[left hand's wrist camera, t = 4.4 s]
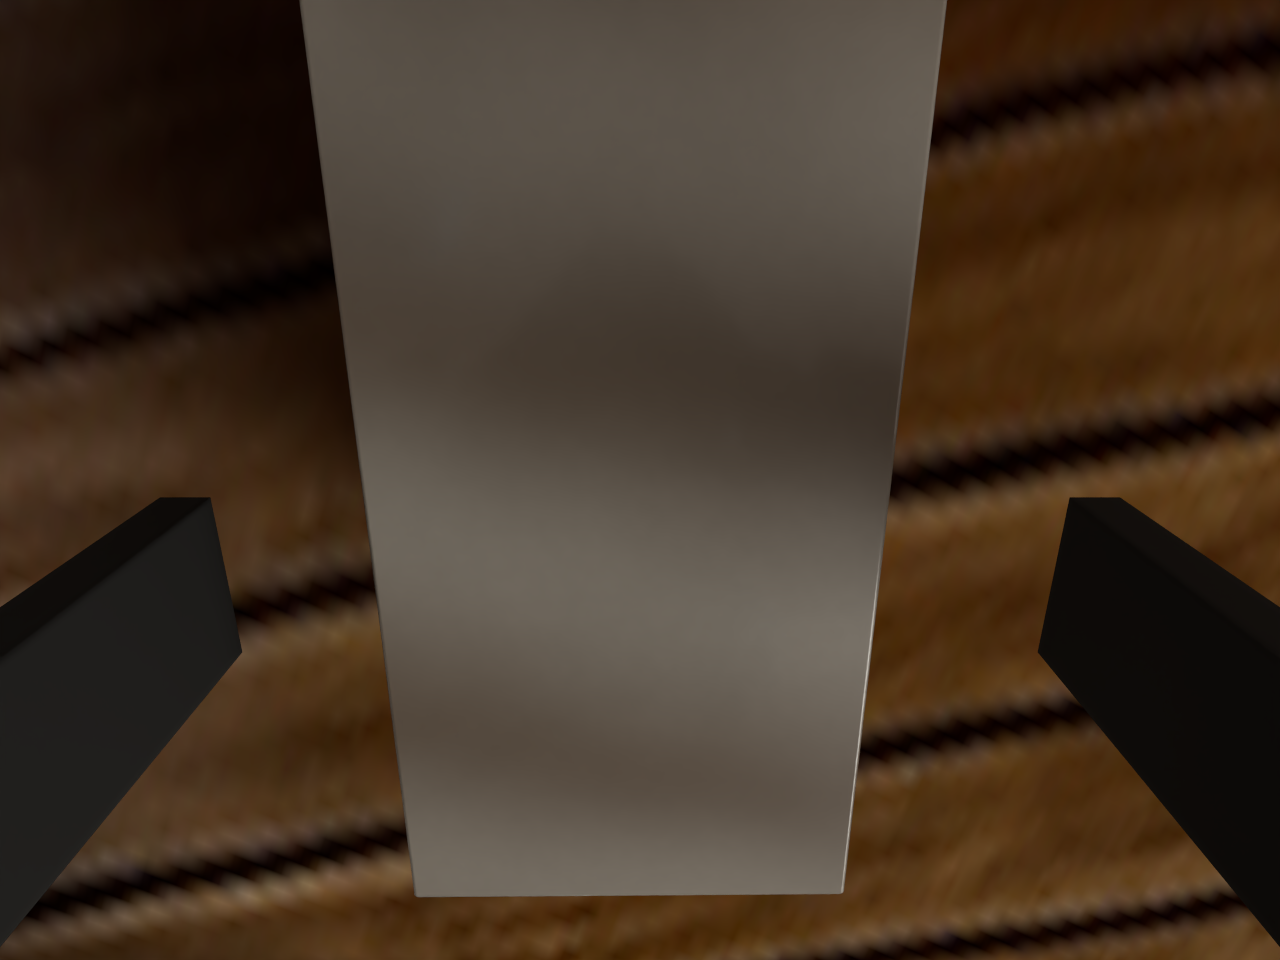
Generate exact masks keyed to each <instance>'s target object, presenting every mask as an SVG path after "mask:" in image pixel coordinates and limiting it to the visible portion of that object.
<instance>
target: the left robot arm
mask: <svg viewBox="0 0 1280 960" xmlns="http://www.w3.org/2000/svg"><path fill="white" fill-rule="evenodd" d="M241 653H242V649H241V644H240V639H239V634H238V629H237V624H236V620H235V615H234V610H233V605H232V600H231V595H230V591H229V586H228V581H227V576H226V571H225V566H224V562H223V557H222V552H221V547H220V542H219V537H218V533H217V528H216V523H215V518H214V513H213V508H212V504H211V499H210V498H159V499H157V500H156V501H154V502H153V503H151V504H150V505H148V506H147V507H146V508H144V509H143V510H141V511H140V512H138V513H137V514H135V515H134V516H132V517H131V518H130V519H128V520H127V521H125V522H124V523H122V524H121V525H119V526H118V527H116V528H115V529H114V530H112V531H111V532H109V533H108V534H106V535H105V536H103V537H102V538H100V539H99V540H98V541H96V542H95V543H93V544H92V545H90V546H89V547H87V548H86V549H84V550H83V551H82V552H80V553H79V554H77V555H76V556H74V557H73V558H71V559H70V560H68V561H67V562H66V563H64V564H63V565H61V566H60V567H58V568H57V569H55V570H54V571H52V572H51V573H50V574H48V575H47V576H45V577H44V578H42V579H41V580H39V581H38V582H36V583H35V584H33V585H32V586H31V587H29V588H28V589H26V590H25V591H23V592H22V593H20V594H19V595H17V596H16V597H15V598H13V599H12V600H10V601H9V602H7V603H6V604H4V605H3V606H1V607H0V946H1V945H2V944H3V943H4V942H5V940H6V939H7V938H8V937H9V936H10V934H11V933H12V932H13V931H14V929H15V928H16V927H17V926H18V925H19V923H20V922H21V921H22V920H23V918H24V917H25V916H26V915H27V914H28V912H29V911H30V910H31V909H32V907H33V906H34V905H35V904H36V903H37V901H38V900H39V899H40V898H41V897H42V895H43V894H44V893H45V892H46V890H47V889H48V888H49V887H50V886H51V884H52V883H53V882H54V881H55V879H56V878H57V877H58V876H59V875H60V873H61V872H62V871H63V870H64V869H65V867H66V866H67V865H68V864H69V862H70V861H71V860H72V859H73V858H74V856H75V855H76V854H77V853H78V851H79V850H80V849H81V848H82V847H83V845H84V844H85V843H86V842H87V841H88V839H89V838H90V837H91V836H92V834H93V833H94V832H95V831H96V830H97V828H98V827H99V826H100V825H101V823H102V822H103V821H104V820H105V819H106V817H107V816H108V815H109V814H110V813H111V811H112V810H113V809H114V808H115V806H116V805H117V804H118V803H119V802H120V800H121V799H122V798H123V797H124V795H125V794H126V793H127V792H128V791H129V789H130V788H131V787H132V786H133V785H134V783H135V782H136V781H137V780H138V778H139V777H140V776H141V775H142V774H143V772H144V771H145V770H146V769H147V767H148V766H149V765H150V764H151V763H152V761H153V760H154V759H155V758H156V757H157V755H158V754H159V753H160V752H161V750H162V749H163V748H164V747H165V746H166V744H167V743H168V742H169V741H170V739H171V738H172V737H173V736H174V735H175V733H176V732H177V731H178V730H179V729H180V727H181V726H182V725H183V724H184V722H185V721H186V720H187V719H188V718H189V716H190V715H191V714H192V713H193V711H194V710H195V709H196V708H197V707H198V705H199V704H200V703H201V702H202V700H203V699H204V698H205V697H206V696H207V694H208V693H209V692H210V691H211V690H212V688H213V687H214V686H215V685H216V683H217V682H218V681H219V680H220V679H221V677H222V676H223V675H224V674H225V672H226V671H227V670H228V669H229V668H230V666H231V665H232V664H233V663H234V662H235V660H236V659H237V658H238V657H239V655H240V654H241ZM1038 653H1039V654H1040V655H1041V657H1042V658H1043V659H1044V660H1045V662H1046V663H1047V664H1048V665H1049V666H1050V668H1051V669H1052V670H1053V671H1054V672H1055V674H1056V675H1057V676H1058V677H1059V679H1060V680H1061V681H1062V682H1063V683H1064V685H1065V686H1066V687H1067V688H1068V690H1069V691H1070V692H1071V693H1072V694H1073V696H1074V697H1075V698H1076V699H1077V700H1078V702H1079V703H1080V704H1081V705H1082V707H1083V708H1084V709H1085V710H1086V711H1087V713H1088V714H1089V715H1090V716H1091V718H1092V719H1093V720H1094V721H1095V722H1096V724H1097V725H1098V726H1099V727H1100V728H1101V730H1102V731H1103V732H1104V733H1105V735H1106V736H1107V737H1108V738H1109V739H1110V741H1111V742H1112V743H1113V744H1114V746H1115V747H1116V748H1117V749H1118V750H1119V752H1120V753H1121V754H1122V755H1123V757H1124V758H1125V759H1126V760H1127V761H1128V763H1129V764H1130V765H1131V766H1132V767H1133V769H1134V770H1135V771H1136V772H1137V774H1138V775H1139V776H1140V777H1141V778H1142V780H1143V781H1144V782H1145V783H1146V785H1147V786H1148V787H1149V788H1150V789H1151V791H1152V792H1153V793H1154V794H1155V795H1156V797H1157V798H1158V799H1159V800H1160V802H1161V803H1162V804H1163V805H1164V806H1165V808H1166V809H1167V810H1168V811H1169V813H1170V814H1171V815H1172V816H1173V817H1174V819H1175V820H1176V821H1177V822H1178V823H1179V825H1180V826H1181V827H1182V828H1183V830H1184V831H1185V832H1186V833H1187V834H1188V836H1189V837H1190V838H1191V839H1192V841H1193V842H1194V843H1195V844H1196V845H1197V847H1198V848H1199V849H1200V850H1201V851H1202V853H1203V854H1204V855H1205V856H1206V858H1207V859H1208V860H1209V861H1210V862H1211V864H1212V865H1213V866H1214V867H1215V869H1216V870H1217V871H1218V872H1219V873H1220V875H1221V876H1222V877H1223V878H1224V879H1225V881H1226V882H1227V883H1228V884H1229V886H1230V887H1231V888H1232V889H1233V890H1234V892H1235V893H1236V894H1237V895H1238V897H1239V898H1240V899H1241V900H1242V901H1243V903H1244V904H1245V905H1246V906H1247V907H1248V909H1249V910H1250V911H1251V912H1252V914H1253V915H1254V916H1255V917H1256V918H1257V920H1258V921H1259V922H1260V923H1261V925H1262V926H1263V927H1264V928H1265V929H1266V931H1267V932H1268V933H1269V934H1270V935H1271V937H1272V938H1273V939H1274V940H1275V942H1276V943H1277V944H1278V945H1279V946H1280V607H1279V606H1277V605H1276V604H1274V603H1273V602H1271V601H1270V600H1268V599H1267V598H1265V597H1264V596H1263V595H1261V594H1260V593H1258V592H1257V591H1255V590H1254V589H1252V588H1251V587H1249V586H1248V585H1247V584H1245V583H1244V582H1242V581H1241V580H1239V579H1238V578H1236V577H1235V576H1233V575H1232V574H1230V573H1229V572H1228V571H1226V570H1225V569H1223V568H1222V567H1220V566H1219V565H1217V564H1216V563H1214V562H1213V561H1212V560H1210V559H1209V558H1207V557H1206V556H1204V555H1203V554H1201V553H1200V552H1198V551H1197V550H1196V549H1194V548H1193V547H1191V546H1190V545H1188V544H1187V543H1185V542H1184V541H1182V540H1181V539H1180V538H1178V537H1177V536H1175V535H1174V534H1172V533H1171V532H1169V531H1168V530H1166V529H1165V528H1164V527H1162V526H1161V525H1159V524H1158V523H1156V522H1155V521H1153V520H1152V519H1150V518H1149V517H1148V516H1146V515H1145V514H1143V513H1142V512H1140V511H1139V510H1137V509H1136V508H1134V507H1133V506H1132V505H1130V504H1129V503H1127V502H1126V501H1124V500H1123V499H1121V498H1070V499H1069V504H1068V508H1067V513H1066V518H1065V523H1064V528H1063V533H1062V537H1061V542H1060V547H1059V552H1058V557H1057V562H1056V566H1055V571H1054V576H1053V581H1052V586H1051V591H1050V595H1049V600H1048V605H1047V610H1046V615H1045V620H1044V624H1043V629H1042V634H1041V639H1040V644H1039V649H1038Z"/></svg>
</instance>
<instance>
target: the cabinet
mask: <svg viewBox="0 0 1280 960" xmlns="http://www.w3.org/2000/svg"><path fill="white" fill-rule="evenodd" d="M299 1H300V9H301V17H302V25H303V32H304V40H305V48H306V56H307V63H308V71H309V79H310V87H311V94H312V102H313V110H314V118H315V126H316V133H317V141H318V149H319V157H320V164H321V172H322V180H323V188H324V195H325V203H326V211H327V219H328V226H329V234H330V242H331V250H332V257H333V265H334V273H335V281H336V288H337V296H338V304H339V312H340V320H341V327H342V335H343V343H344V351H345V358H346V366H347V374H348V382H349V389H350V397H351V405H352V413H353V420H354V428H355V436H356V444H357V451H358V459H359V467H360V475H361V482H362V490H363V498H364V506H365V514H366V521H367V529H368V537H369V545H370V552H371V560H372V568H373V576H374V583H375V591H376V599H377V607H378V614H379V622H380V630H381V638H382V645H383V653H384V661H385V669H386V677H387V684H388V692H389V700H390V708H391V715H392V723H393V731H394V739H395V746H396V754H397V762H398V770H399V777H400V785H401V793H402V801H403V808H404V816H405V824H406V832H407V839H408V847H409V855H410V863H411V871H412V878H413V886H414V893H415V896H417V897H481V896H617V895H752V894H841V893H843V890H844V883H845V874H846V865H847V857H848V848H849V839H850V831H851V822H852V814H853V805H854V796H855V788H856V779H857V771H858V762H859V753H860V745H861V736H862V727H863V719H864V710H865V702H866V693H867V684H868V676H869V667H870V659H871V650H872V641H873V633H874V624H875V615H876V607H877V598H878V590H879V581H880V572H881V564H882V555H883V546H884V538H885V529H886V521H887V512H888V503H889V495H890V486H891V478H892V469H893V460H894V452H895V443H896V434H897V426H898V417H899V409H900V400H901V391H902V383H903V374H904V365H905V357H906V348H907V340H908V331H909V322H910V314H911V305H912V297H913V288H914V279H915V271H916V262H917V253H918V245H919V236H920V228H921V219H922V210H923V202H924V193H925V185H926V176H927V167H928V159H929V150H930V141H931V133H932V124H933V116H934V107H935V98H936V90H937V81H938V72H939V64H940V55H941V47H942V38H943V29H944V21H945V12H946V4H947V0H299Z"/></svg>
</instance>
